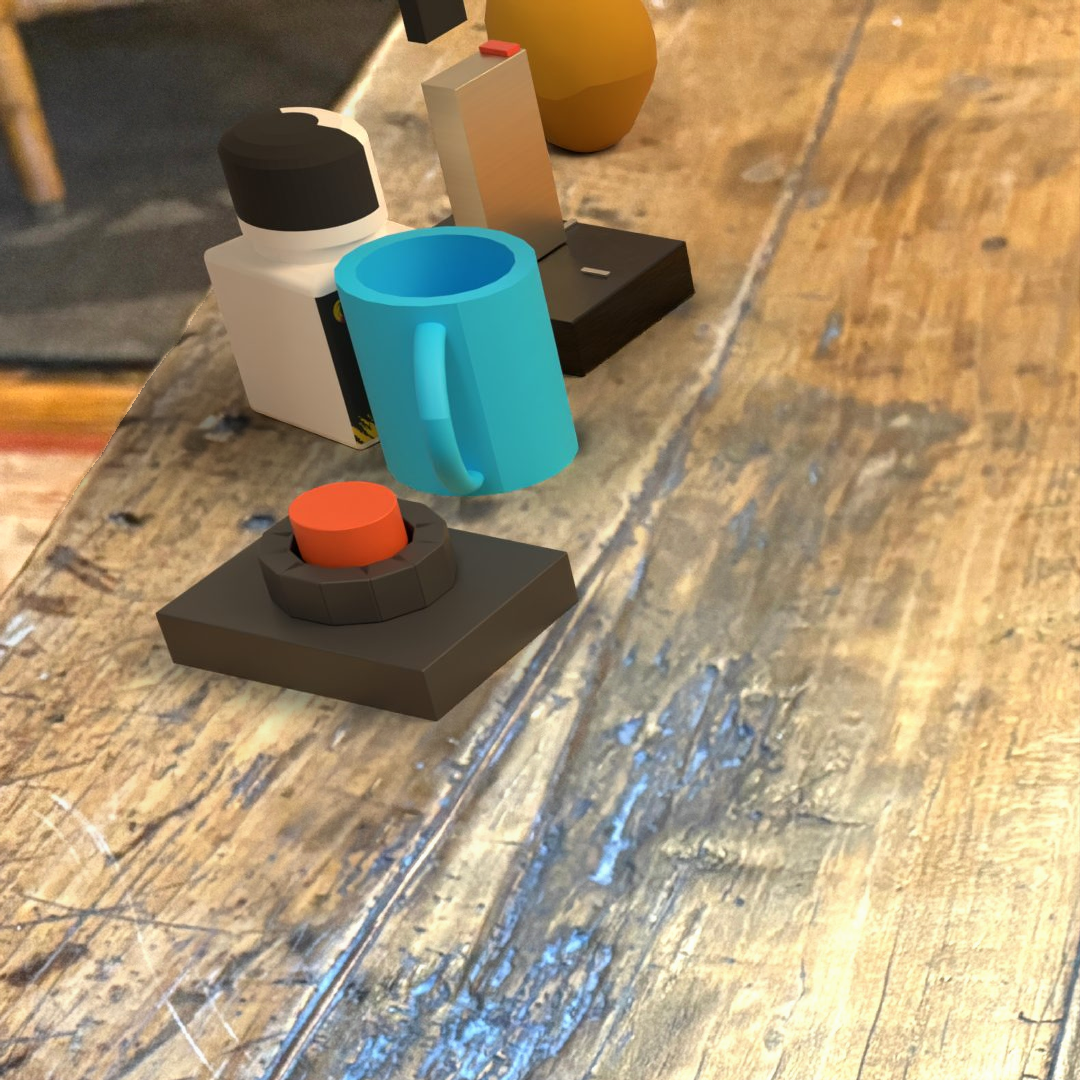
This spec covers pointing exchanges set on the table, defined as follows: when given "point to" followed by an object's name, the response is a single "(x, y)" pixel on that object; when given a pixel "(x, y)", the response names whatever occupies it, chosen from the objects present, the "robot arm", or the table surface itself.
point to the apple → (581, 64)
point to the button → (347, 524)
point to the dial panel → (608, 289)
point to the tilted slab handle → (495, 146)
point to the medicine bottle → (298, 265)
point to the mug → (458, 359)
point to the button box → (373, 616)
